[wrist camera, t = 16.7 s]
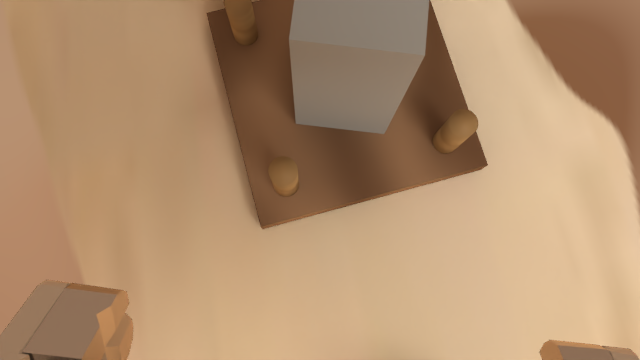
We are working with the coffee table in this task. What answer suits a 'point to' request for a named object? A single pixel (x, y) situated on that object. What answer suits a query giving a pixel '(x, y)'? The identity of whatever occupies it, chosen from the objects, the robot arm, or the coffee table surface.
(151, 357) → the coffee table surface
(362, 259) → the coffee table surface
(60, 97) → the coffee table surface
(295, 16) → the slate block
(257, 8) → the stand
